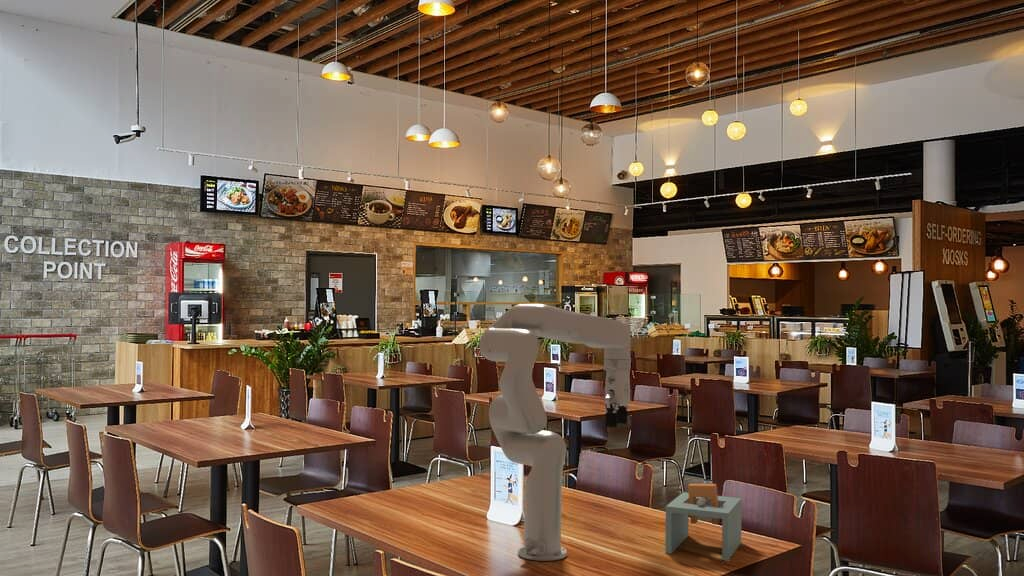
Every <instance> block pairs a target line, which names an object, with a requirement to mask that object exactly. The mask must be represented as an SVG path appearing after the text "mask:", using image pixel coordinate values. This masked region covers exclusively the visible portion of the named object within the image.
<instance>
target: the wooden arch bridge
mask: <svg viewBox="0 0 1024 576" xmlns="http://www.w3.org/2000/svg"><path fill="white" fill-rule="evenodd" d="M687 489H688V491H687V493H689V504H696V505H697V503H696V497H711V505H710V506H714V507H719V506H718V496H719V495H718V486H717V483H689V484H688V485H687ZM698 517H699V516H695V515H689V518H690V524H693V525H695V524H696V523H697V522H698V521H699V519H698ZM711 520H712V521H711V523H712V525H719V523H720V521H721V520H720V518H712V517H711Z"/></svg>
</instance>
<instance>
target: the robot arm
mask: <svg viewBox="0 0 1024 576" xmlns="http://www.w3.org/2000/svg"><path fill="white" fill-rule="evenodd" d="M631 329H632V328H631V325H630V324H629V323H626V322H623V321H620V320H617V319H613V318H610V317H609V318H608V317H603V316H598V315H591V314H587V313H583V312H576V311H571V310H568V309H563V308H560V307H555V306H552V305H549V304H545V303H544V304H543V303H519V304H516V305H514V306H512V307H510V308H509V309H507V311H505V312H504V313H502V315H499V317H498V318H497V319H496V320H495V321H494V322H492V324H490V325H489V326H488V327H487V328H486V329H485V330H484V332H483V333H482V335H481V336H480V339H479V343H478V344H479V345H478V346H479V351H480V354H481V356H482V357H484V358H485V359H486V360H487V361H490V362H502V363H505V366H504V368H503V371H502V372H501V376H500V377H499V383H498V385H499V390H500V393H501V394H499V395H497V396H495V397H494V398H493V400H492V401H491V403H490V405H489V409H488V421H489V425H490V427H491V430H492V431H493V433H494V436H495V438H496V440H497V442H498V444H499V446H500V448H501V451H502V452H503V454H504V456H505V457H506V458H507V459H508V460H509V461H510V462H512V463H514V464H518V465H519V464H520V465H524V466H525V465H526V466H528V467H529V466H530V467H531V469H530V471H529V473H528V474H527V477H526V479H525V483H524V515H523V516H524V519H523V520H524V524H523V527H524V529H523V531H524V532H523V545H520V546H519V547H518V548H517V555H519V556H520V557H521V558H522V559H526V560H530V561H537V562H549V561H550V562H551V561H552V562H553V561H558V560H561V559H564V558H566V557H567V555H568V550H567V549H566V547H564V546H562V492H563V491H562V487H563V486H562V484H563V483H562V482H563V470H564V467H565V466H564V464H565V460H566V455H567V444H566V442H565V439H564V438H563V437H562V436H561V435H560V434H559V433H556V432H554V431H551V430H547V429H546V430H545V428H546V425H547V421H548V417H547V413H546V410H545V407H544V405H543V402H542V401H541V400H542V399H541V398H540V396H539V393H538V391H537V389H536V388H537V387H536V385H535V383H534V381H533V371H534V370H533V369H534V367H535V366H534V365H535V364H536V360H537V357H538V354H539V350H540V342H539V339H538V337H540V338H545V339H549V340H553V341H558V342H563V343H567V344H576V345H577V344H581V345H584V346H586V347H588V348H591V349H603V351H604V353H603V358H604V359H603V371H606V374H605V384H604V385H605V386H604V402H605V410H604V411H605V428H617V427H618V424H621V425H626V424H628V407H629V406H628V405H629V404H630V403H631V380H630V378H631V377H630V371H631V342H632V341H631V340H632V339H631V338H632V337H631V336H632V335H631V332H632V331H631Z"/></svg>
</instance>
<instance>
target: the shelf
mask: <svg viewBox="0 0 1024 576" xmlns="http://www.w3.org/2000/svg"><path fill="white" fill-rule="evenodd" d="M717 496H718V507H714V506H711V497H696V503H697V505H696V504H689V492H684V491H683V492H682V493H681V494H680V495H678V496H677V497H676V498H674V499H673V500H672V501H670V502H669V503H668V504H666V506H665V550H664V551H665V554H670V555H671V554H673V552H674V551H675V550H676V549H677V548H679V546H680V545H681V544H683V542H684V541H685V540H686V539H687V538H688V537H689V528H690V527H689V526H690V525H689V521H690V520H689V518H690V515H695V516H698V517H705V518H711V519H712V518H719V519H722V520H721V552H722V553H721V560H724V561H723V562H729V561H730V560H729V559H731V558H732V557H733V555H734V554H735V552H736V551H737V550H738V548H739V547H740V545H741V544H742V498H741V497H734V496H733V497H732V496H723V495H717ZM733 553H734V554H733ZM731 556H732V557H731ZM730 557H731V558H730ZM728 560H729V561H728Z"/></svg>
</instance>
